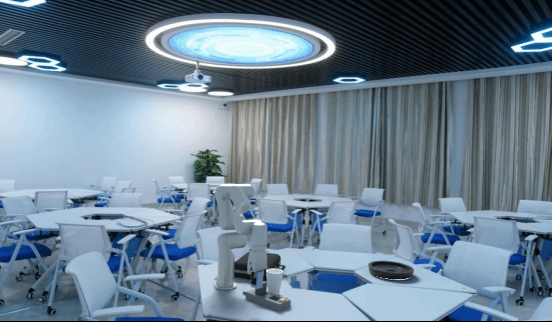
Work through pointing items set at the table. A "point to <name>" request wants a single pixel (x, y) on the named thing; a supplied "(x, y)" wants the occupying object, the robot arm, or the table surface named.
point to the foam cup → (274, 280)
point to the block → (258, 280)
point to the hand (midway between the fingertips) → (256, 283)
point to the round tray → (390, 269)
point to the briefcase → (242, 263)
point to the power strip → (267, 298)
